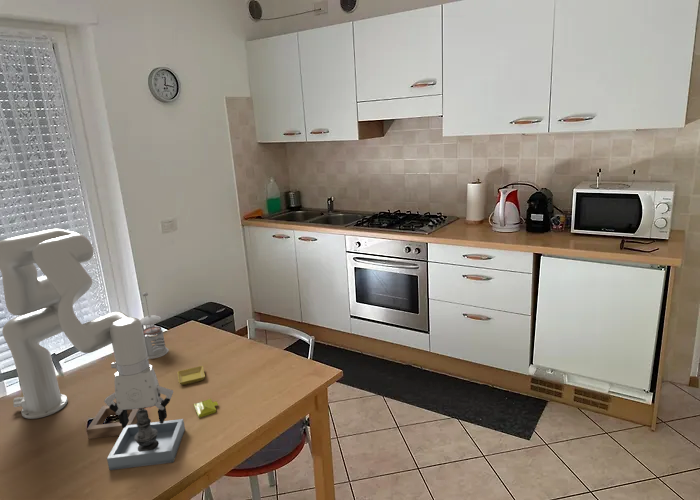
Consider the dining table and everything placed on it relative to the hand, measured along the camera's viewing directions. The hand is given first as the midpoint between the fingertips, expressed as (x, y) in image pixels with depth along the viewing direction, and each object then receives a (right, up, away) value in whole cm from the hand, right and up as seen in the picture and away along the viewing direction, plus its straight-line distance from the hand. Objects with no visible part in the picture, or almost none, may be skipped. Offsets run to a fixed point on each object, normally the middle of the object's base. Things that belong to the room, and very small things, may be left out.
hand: (144, 422), depth 129 cm
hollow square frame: (-14, -5, +14) cm, 21 cm away
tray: (+1, -8, +2) cm, 8 cm away
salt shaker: (0, -7, +2) cm, 8 cm away
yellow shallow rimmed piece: (0, +1, +38) cm, 38 cm away
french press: (-21, +6, +58) cm, 62 cm away
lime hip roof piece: (+11, -4, +19) cm, 23 cm away
